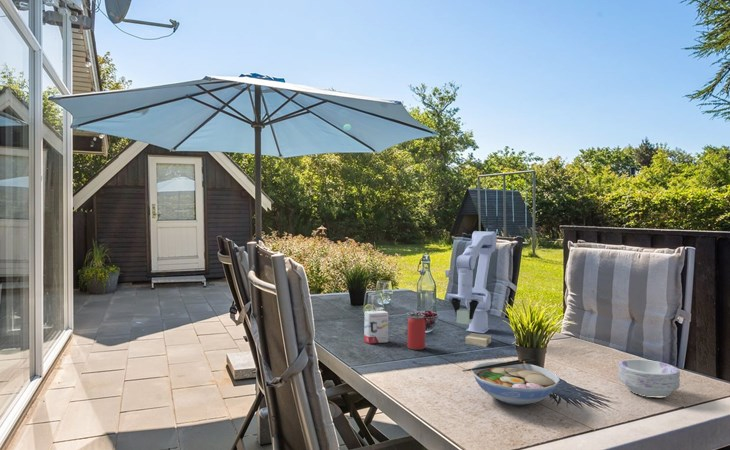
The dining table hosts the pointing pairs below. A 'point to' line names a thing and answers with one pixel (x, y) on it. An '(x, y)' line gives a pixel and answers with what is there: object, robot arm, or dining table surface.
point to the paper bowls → (648, 377)
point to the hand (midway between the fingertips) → (464, 318)
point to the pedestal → (478, 339)
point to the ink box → (376, 327)
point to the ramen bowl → (515, 381)
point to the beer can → (416, 332)
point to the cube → (463, 316)
